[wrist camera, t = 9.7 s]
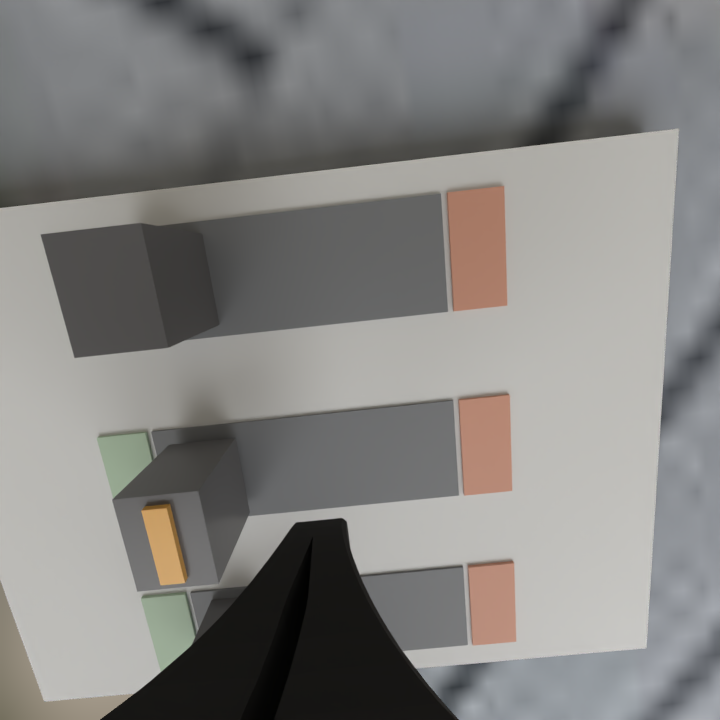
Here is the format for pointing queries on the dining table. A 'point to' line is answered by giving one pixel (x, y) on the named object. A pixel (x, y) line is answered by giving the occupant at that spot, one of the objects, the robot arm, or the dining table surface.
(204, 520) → the breaker
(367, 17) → the dining table surface
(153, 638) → the panel
